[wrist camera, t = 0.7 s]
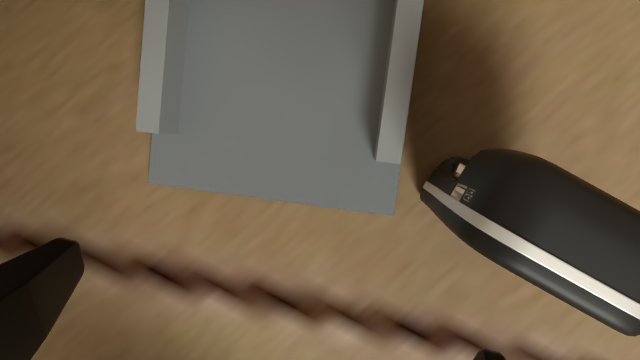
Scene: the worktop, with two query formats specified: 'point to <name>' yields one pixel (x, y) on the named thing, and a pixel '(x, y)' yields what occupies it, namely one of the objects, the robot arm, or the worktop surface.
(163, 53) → the tray
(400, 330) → the worktop surface
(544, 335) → the worktop surface
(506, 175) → the battery charger
